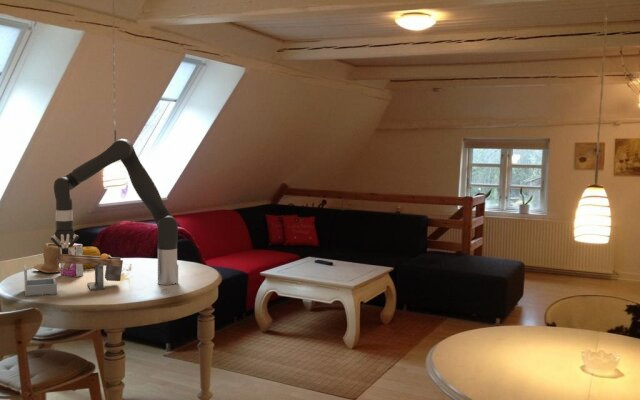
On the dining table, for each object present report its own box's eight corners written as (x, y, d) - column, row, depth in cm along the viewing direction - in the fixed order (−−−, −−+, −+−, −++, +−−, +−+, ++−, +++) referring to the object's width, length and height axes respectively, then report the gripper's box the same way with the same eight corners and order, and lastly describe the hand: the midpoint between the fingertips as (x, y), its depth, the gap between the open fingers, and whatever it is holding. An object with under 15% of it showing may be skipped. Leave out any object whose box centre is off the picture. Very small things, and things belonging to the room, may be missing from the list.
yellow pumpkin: (70, 267, 320) (70, 246, 319) (93, 264, 329) (93, 243, 328) (82, 270, 311) (82, 249, 310) (105, 267, 321) (104, 246, 320)
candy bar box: (59, 275, 300) (59, 243, 299) (67, 273, 305) (67, 242, 303) (75, 277, 295) (75, 245, 294) (83, 275, 300) (83, 244, 298)
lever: (115, 275, 290) (118, 253, 290) (120, 281, 278) (123, 258, 278) (53, 272, 277) (56, 249, 276) (56, 278, 264) (59, 254, 264)
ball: (107, 261, 280) (108, 253, 280) (108, 263, 276) (109, 254, 276) (98, 261, 278) (99, 252, 278) (100, 262, 274) (100, 254, 274)
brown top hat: (68, 272, 307) (67, 244, 306) (45, 275, 298) (44, 246, 297) (55, 267, 317) (54, 240, 316) (32, 271, 308) (32, 242, 307)
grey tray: (54, 287, 274) (54, 262, 273) (56, 293, 263) (56, 267, 262) (24, 290, 268) (23, 264, 267) (25, 296, 257) (24, 269, 255)
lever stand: (100, 283, 284) (100, 259, 282) (104, 289, 272) (104, 264, 271) (87, 284, 281) (87, 260, 280) (91, 290, 269) (90, 265, 268)
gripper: (78, 218, 281) (79, 253, 283) (48, 219, 275) (49, 255, 276) (80, 219, 274) (81, 256, 276) (49, 221, 268) (50, 258, 270)
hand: (65, 255), depth 276 cm, fingers closed
